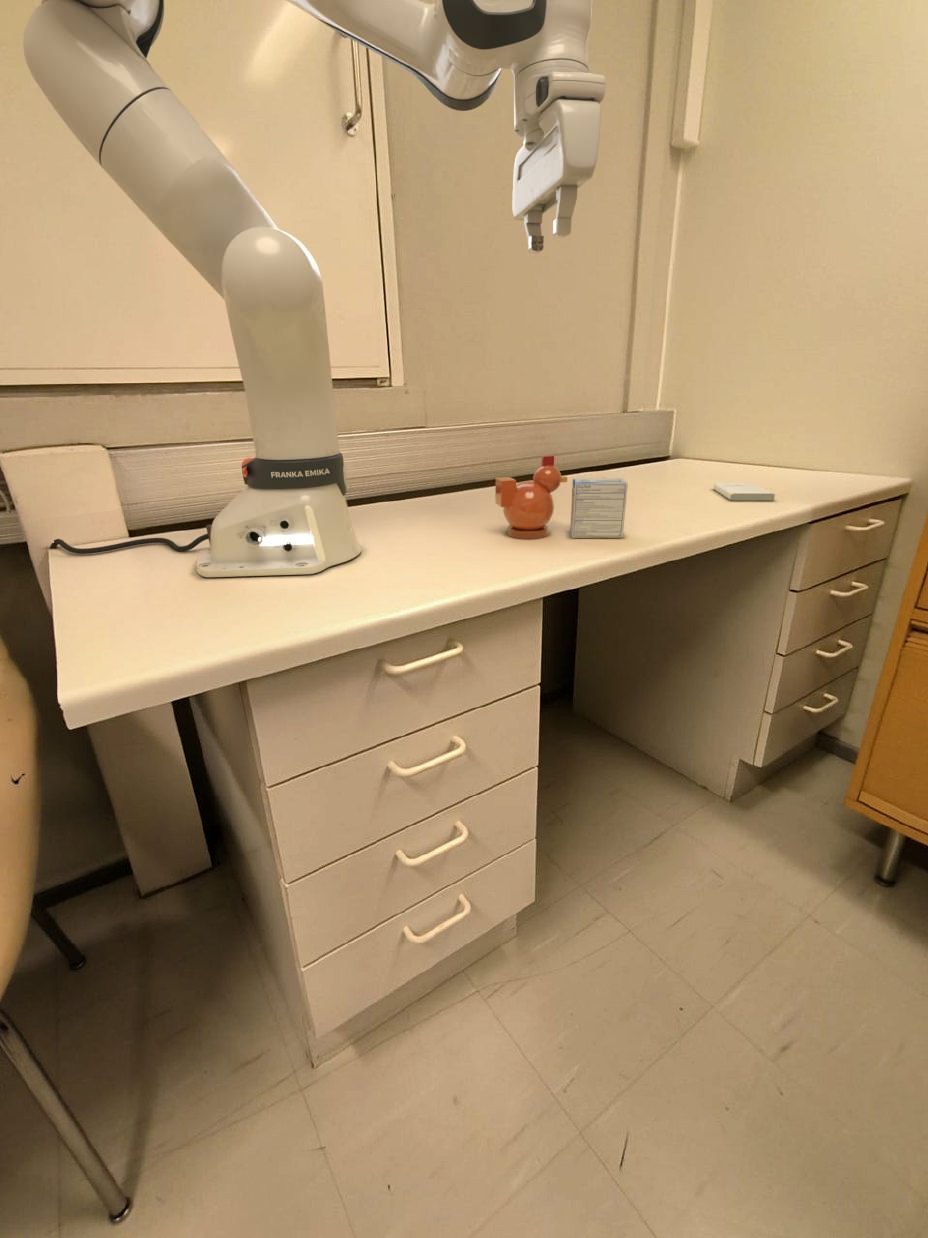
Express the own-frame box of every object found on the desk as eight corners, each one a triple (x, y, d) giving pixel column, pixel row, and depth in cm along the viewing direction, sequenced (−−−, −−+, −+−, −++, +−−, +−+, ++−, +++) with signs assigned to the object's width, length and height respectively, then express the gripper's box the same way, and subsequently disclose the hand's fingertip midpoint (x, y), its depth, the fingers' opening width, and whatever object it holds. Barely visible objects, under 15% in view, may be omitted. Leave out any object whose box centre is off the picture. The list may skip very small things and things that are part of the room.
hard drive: (729, 501, 111) (712, 489, 122) (773, 501, 110) (752, 489, 121) (731, 493, 110) (713, 482, 122) (775, 493, 109) (754, 482, 120)
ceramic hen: (505, 542, 87) (506, 461, 82) (491, 530, 94) (491, 455, 89) (573, 536, 89) (577, 457, 84) (554, 525, 96) (557, 451, 91)
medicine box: (618, 531, 91) (623, 477, 88) (623, 538, 87) (628, 482, 84) (569, 531, 92) (572, 477, 89) (571, 538, 88) (574, 482, 84)
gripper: (501, 141, 77) (501, 259, 82) (557, 65, 58) (553, 225, 64) (544, 143, 78) (542, 259, 83) (613, 70, 60) (605, 225, 65)
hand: (547, 244), depth 74 cm, fingers open, 8 cm apart
